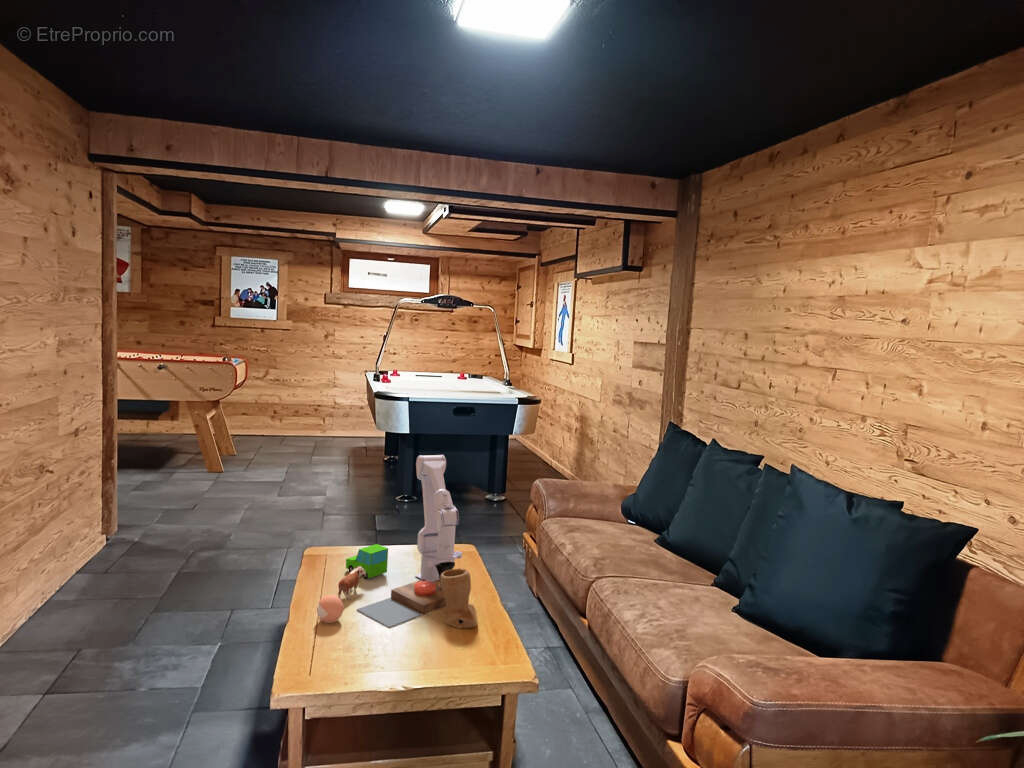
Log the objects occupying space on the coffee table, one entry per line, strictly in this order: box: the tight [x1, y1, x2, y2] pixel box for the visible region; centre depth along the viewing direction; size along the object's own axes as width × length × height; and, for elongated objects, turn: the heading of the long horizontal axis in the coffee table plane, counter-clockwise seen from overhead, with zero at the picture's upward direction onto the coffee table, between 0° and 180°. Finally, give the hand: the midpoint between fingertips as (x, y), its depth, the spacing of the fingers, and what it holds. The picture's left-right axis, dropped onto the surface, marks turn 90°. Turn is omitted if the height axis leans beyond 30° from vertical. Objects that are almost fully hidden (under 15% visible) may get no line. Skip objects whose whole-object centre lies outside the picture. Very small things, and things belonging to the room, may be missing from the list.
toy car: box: [345, 543, 389, 580], centre depth 232 cm, size 10×13×10 cm
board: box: [390, 579, 447, 616], centre depth 213 cm, size 14×16×3 cm
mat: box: [356, 597, 423, 629], centre depth 202 cm, size 13×16×1 cm
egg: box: [316, 594, 344, 624], centre depth 193 cm, size 8×8×8 cm
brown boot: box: [439, 568, 478, 629], centre depth 200 cm, size 15×12×15 cm
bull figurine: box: [337, 566, 366, 600], centre depth 213 cm, size 4×13×8 cm, turn 161°
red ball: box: [414, 580, 437, 596], centre depth 213 cm, size 7×7×2 cm
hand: (443, 582), depth 219 cm, fingers closed
